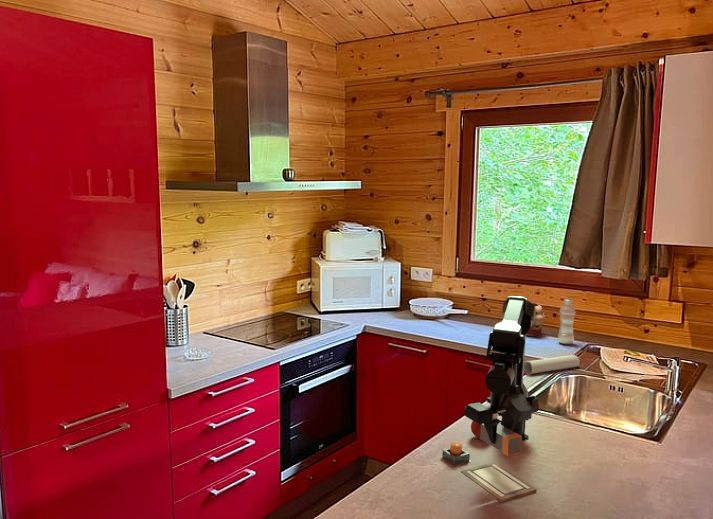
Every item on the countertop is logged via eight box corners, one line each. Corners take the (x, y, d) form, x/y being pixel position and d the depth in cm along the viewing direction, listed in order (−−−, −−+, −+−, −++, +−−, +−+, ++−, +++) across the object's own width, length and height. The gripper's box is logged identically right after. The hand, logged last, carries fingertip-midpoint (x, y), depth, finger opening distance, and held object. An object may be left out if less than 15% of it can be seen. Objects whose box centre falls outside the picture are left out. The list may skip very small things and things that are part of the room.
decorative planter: (502, 328, 295) (504, 300, 292) (522, 326, 300) (524, 298, 298) (531, 339, 277) (533, 309, 275) (552, 337, 282) (554, 307, 280)
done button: (457, 449, 164) (457, 441, 163) (464, 454, 161) (464, 446, 161) (447, 452, 162) (448, 443, 162) (454, 457, 160) (455, 448, 159)
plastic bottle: (575, 346, 268) (579, 301, 265) (559, 345, 269) (563, 300, 265) (570, 341, 275) (574, 297, 272) (555, 341, 275) (558, 297, 272)
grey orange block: (492, 435, 155) (493, 420, 155) (520, 452, 147) (521, 436, 146) (480, 439, 153) (480, 423, 153) (507, 455, 145) (508, 439, 144)
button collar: (457, 453, 166) (458, 444, 166) (471, 463, 161) (472, 454, 160) (439, 458, 163) (439, 449, 163) (453, 468, 158) (453, 458, 158)
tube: (571, 354, 244) (521, 360, 234) (581, 353, 240) (531, 360, 229) (573, 367, 244) (523, 375, 233) (583, 367, 239) (533, 375, 228)
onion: (466, 437, 176) (467, 410, 175) (483, 434, 178) (484, 407, 177) (477, 445, 171) (479, 418, 170) (495, 442, 173) (496, 415, 172)
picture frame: (494, 464, 161) (494, 461, 160) (536, 491, 148) (536, 488, 147) (460, 473, 155) (460, 470, 155) (500, 502, 142) (500, 499, 142)
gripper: (495, 397, 136) (491, 463, 139) (557, 384, 145) (553, 447, 147) (464, 381, 146) (461, 443, 148) (524, 370, 154) (520, 429, 157)
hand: (500, 441), depth 150 cm, fingers closed on grey orange block, 4 cm apart
